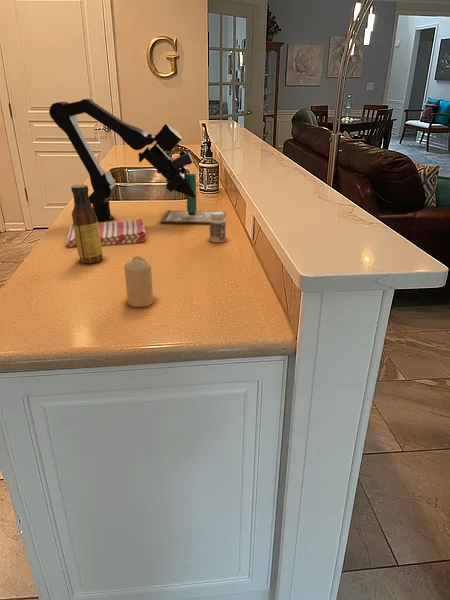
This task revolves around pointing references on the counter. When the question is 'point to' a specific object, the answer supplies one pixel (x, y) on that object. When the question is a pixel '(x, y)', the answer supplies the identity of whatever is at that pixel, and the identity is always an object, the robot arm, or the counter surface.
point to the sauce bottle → (85, 226)
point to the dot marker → (190, 200)
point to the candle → (139, 282)
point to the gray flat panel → (187, 217)
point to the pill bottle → (217, 227)
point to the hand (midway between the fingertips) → (195, 195)
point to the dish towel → (115, 233)
